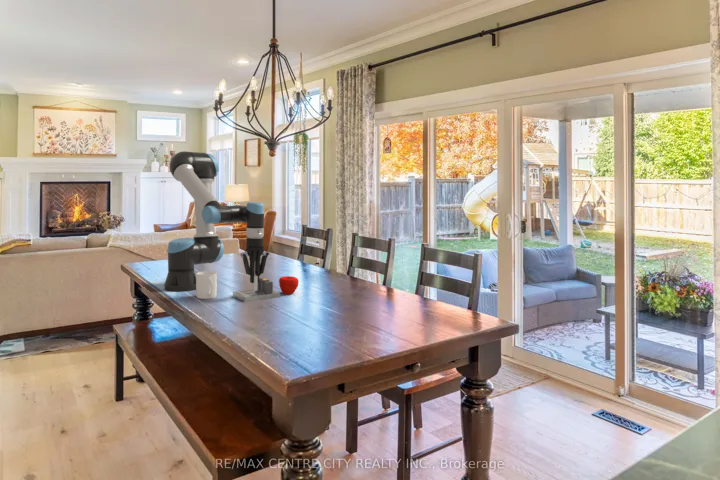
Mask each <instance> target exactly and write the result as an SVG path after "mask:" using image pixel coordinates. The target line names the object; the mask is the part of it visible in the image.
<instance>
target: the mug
mask: <svg viewBox="0 0 720 480" xmlns="http://www.w3.org/2000/svg"><path fill="white" fill-rule="evenodd" d="M217 274H218V273H217V272H215V271H199V272H196V273H195V275H196V289H195V295H196V296H195V297H196V298H197V299H200V300H209V299H210V300H211V298H212V299H215V298H216V297H217V294H218V293H217V292H218V287H217V283H218V282H217V281H218V278H217Z"/></svg>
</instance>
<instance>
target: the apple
mask: <svg viewBox="0 0 720 480" xmlns="http://www.w3.org/2000/svg"><path fill="white" fill-rule="evenodd" d="M278 279H279V280H278V284H279V287H280V288H279V289H280V291H281V293H282V294H283V295H293V294H294V293H295V292H296V291H297V288H298V286H299V279H298V277H296V276H288V275H285V276H281V277H280V278H278Z"/></svg>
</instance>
